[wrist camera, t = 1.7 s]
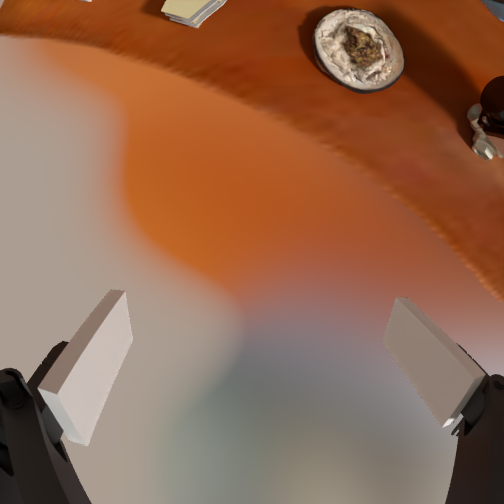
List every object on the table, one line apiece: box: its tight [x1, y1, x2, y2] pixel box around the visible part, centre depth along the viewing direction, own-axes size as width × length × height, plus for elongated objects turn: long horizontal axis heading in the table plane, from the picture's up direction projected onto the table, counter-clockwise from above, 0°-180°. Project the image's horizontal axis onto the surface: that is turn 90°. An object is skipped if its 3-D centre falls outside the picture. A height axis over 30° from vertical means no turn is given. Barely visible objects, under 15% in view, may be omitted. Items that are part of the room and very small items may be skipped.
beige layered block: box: [161, 0, 226, 28], centre depth 22 cm, size 10×9×6 cm
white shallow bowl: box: [312, 8, 405, 94], centre depth 25 cm, size 15×15×4 cm
